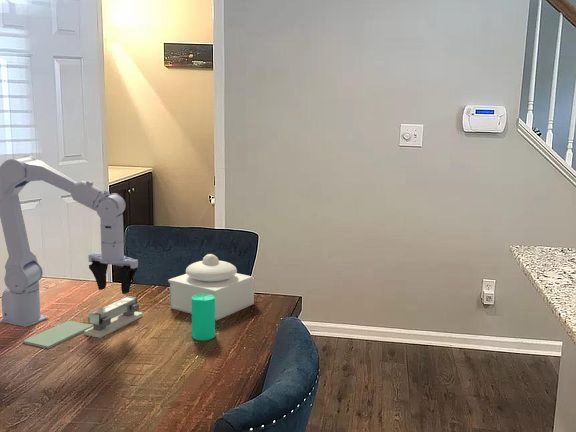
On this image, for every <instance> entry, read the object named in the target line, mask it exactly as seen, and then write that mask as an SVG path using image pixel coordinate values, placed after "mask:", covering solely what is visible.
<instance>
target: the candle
mask: <svg viewBox="0 0 576 432" xmlns="http://www.w3.org/2000/svg"><path fill="white" fill-rule="evenodd" d="M215 336H216V320H215V297H214V296H213V295H206V294H204V291H203V294H197V295H194V296H192V314H191V338H193V339H194V340H197V341H209V340H212V339H214V338H215Z"/></svg>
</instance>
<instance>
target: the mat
mask: <svg viewBox="0 0 576 432" xmlns="http://www.w3.org/2000/svg"><path fill="white" fill-rule="evenodd" d="M91 327H93V324H88V323H82V322H78V321H73V320H66V321H64V322H63V323H60V324H58V325H56V326H53V327H51V328H49V329H46V330H44V331H42V332H40V333H37V334H35V335H32V336H31V337H28V338H26V339H24V340H22V343H23V344H25V345H29V346H34V347H39V348H43V349H48V350H49V349H51V348H53V347H55V346H57V345H59V344H61V343H63V342H66V341H68V340H70V339H72V338H73V337H76V336H79V335H80V334H82V333H84V331H85V330H87V329H89V328H91Z"/></svg>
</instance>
